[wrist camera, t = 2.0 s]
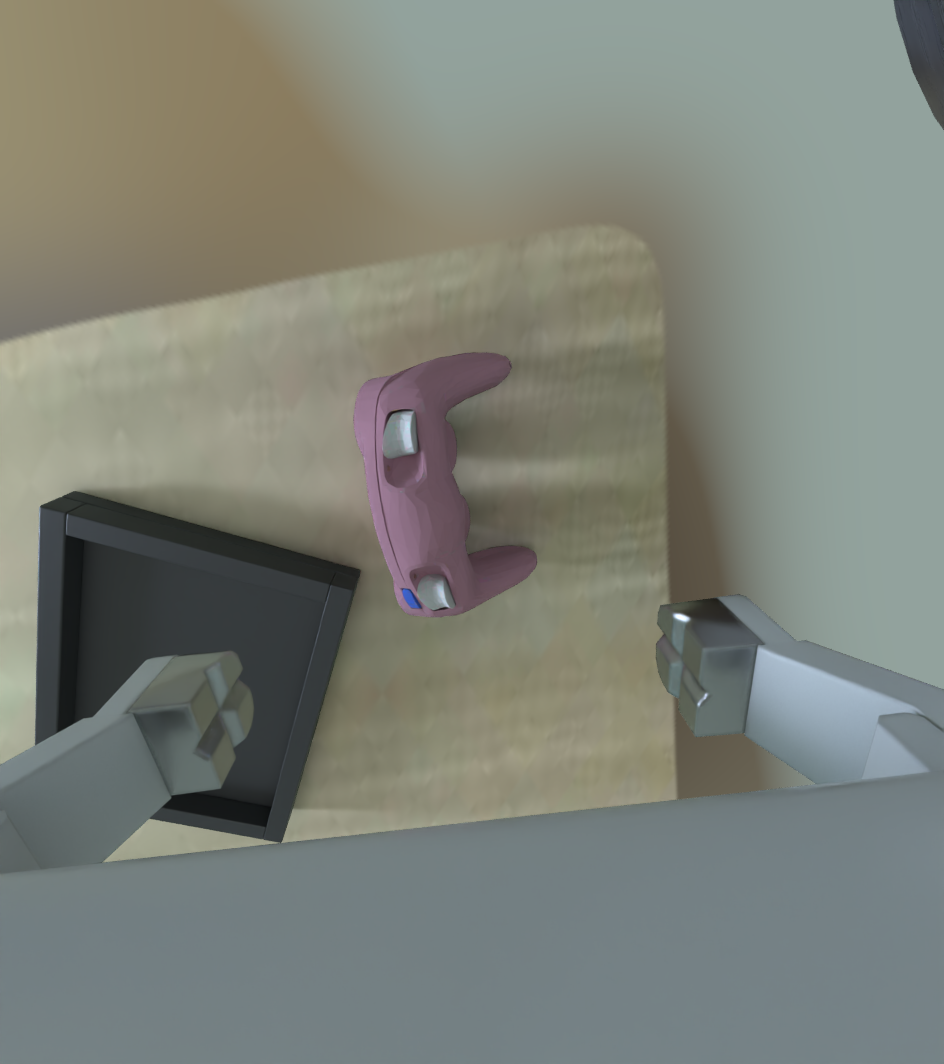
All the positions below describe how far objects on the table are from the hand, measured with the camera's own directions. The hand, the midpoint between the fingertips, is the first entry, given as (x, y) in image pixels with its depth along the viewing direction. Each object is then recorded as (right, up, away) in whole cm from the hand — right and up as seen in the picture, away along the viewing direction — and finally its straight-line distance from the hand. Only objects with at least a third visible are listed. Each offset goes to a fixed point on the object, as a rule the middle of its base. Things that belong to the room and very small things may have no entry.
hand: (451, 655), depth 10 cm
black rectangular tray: (-13, -5, +15) cm, 21 cm away
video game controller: (0, +5, +12) cm, 13 cm away
